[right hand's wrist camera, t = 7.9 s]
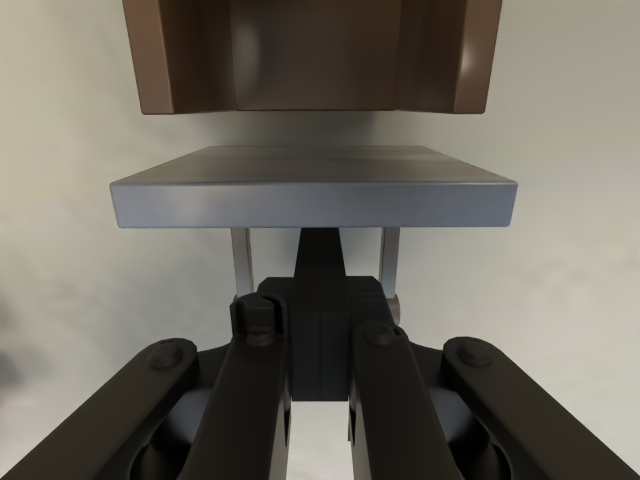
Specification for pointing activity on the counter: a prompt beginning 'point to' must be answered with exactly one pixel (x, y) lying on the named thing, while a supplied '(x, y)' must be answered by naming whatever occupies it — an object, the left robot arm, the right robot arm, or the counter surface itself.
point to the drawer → (313, 95)
